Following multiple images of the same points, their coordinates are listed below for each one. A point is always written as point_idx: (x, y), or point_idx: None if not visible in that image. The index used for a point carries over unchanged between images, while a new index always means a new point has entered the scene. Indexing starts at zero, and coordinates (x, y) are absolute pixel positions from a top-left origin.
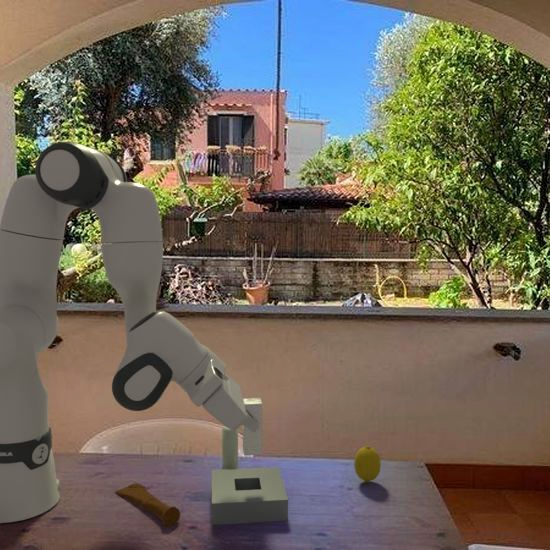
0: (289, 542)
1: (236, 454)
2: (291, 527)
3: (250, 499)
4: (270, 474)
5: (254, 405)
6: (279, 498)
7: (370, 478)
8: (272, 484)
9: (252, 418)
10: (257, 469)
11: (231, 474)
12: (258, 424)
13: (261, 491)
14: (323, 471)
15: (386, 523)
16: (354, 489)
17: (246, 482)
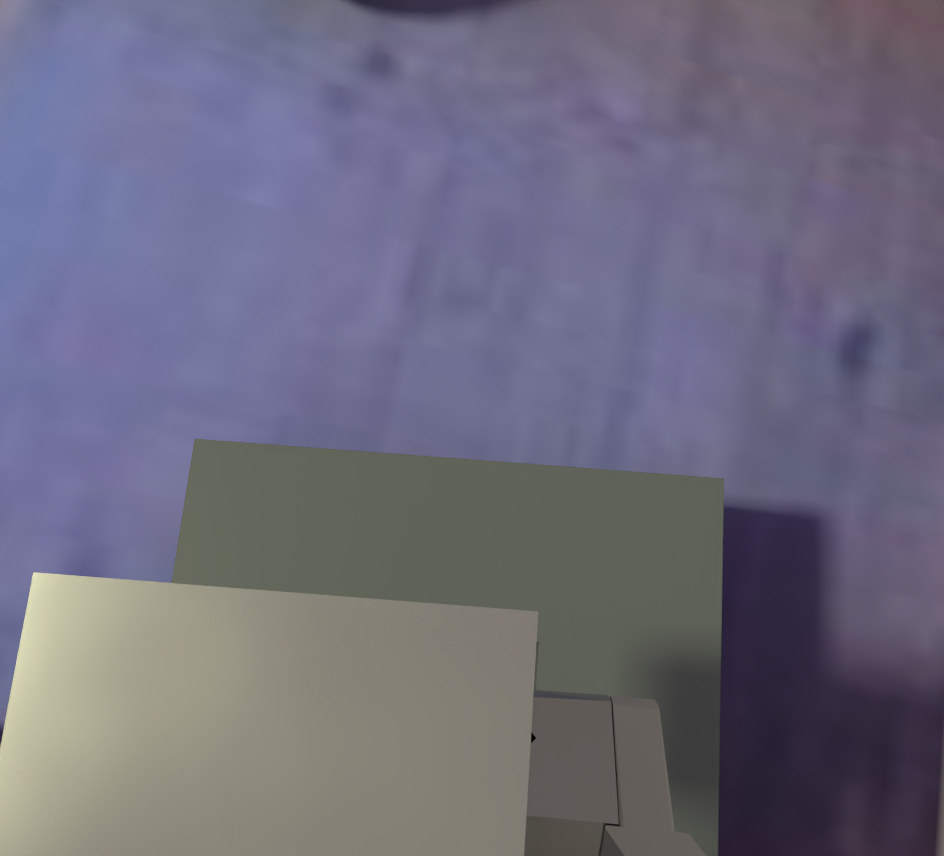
0: (927, 544)
1: None
2: (769, 497)
3: (686, 756)
4: (306, 525)
5: (524, 839)
6: (697, 534)
7: None
8: (475, 543)
9: (630, 852)
10: None
11: None
12: (631, 710)
13: (573, 648)
14: (122, 146)
15: (784, 2)
16: (395, 42)
17: None
